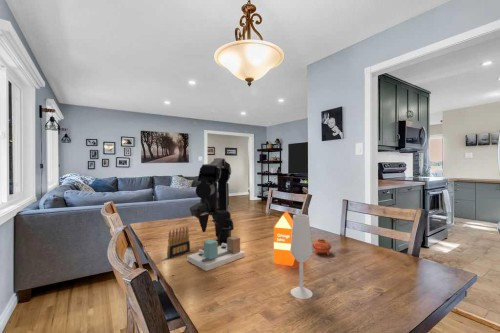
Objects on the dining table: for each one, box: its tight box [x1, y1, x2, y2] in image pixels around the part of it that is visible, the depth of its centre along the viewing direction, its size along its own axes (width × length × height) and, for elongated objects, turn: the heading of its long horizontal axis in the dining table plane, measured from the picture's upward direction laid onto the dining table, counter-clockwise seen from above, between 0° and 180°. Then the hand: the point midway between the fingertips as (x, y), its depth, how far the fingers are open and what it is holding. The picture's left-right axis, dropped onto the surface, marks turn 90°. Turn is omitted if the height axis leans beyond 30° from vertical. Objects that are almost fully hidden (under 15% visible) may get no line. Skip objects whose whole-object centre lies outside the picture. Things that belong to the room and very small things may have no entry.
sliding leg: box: [198, 239, 219, 259], centre depth 98 cm, size 4×10×7 cm, turn 45°
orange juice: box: [273, 210, 296, 267], centre depth 99 cm, size 8×9×20 cm
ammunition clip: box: [166, 225, 191, 259], centre depth 106 cm, size 11×2×12 cm, turn 141°
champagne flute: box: [290, 213, 313, 300], centre depth 74 cm, size 7×7×24 cm
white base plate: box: [186, 235, 246, 272], centre depth 101 cm, size 20×14×8 cm
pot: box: [312, 238, 332, 256], centre depth 107 cm, size 8×8×7 cm
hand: (210, 234), depth 95 cm, fingers open, 9 cm apart
